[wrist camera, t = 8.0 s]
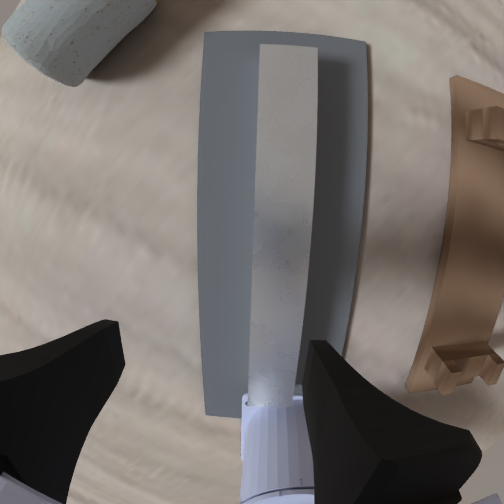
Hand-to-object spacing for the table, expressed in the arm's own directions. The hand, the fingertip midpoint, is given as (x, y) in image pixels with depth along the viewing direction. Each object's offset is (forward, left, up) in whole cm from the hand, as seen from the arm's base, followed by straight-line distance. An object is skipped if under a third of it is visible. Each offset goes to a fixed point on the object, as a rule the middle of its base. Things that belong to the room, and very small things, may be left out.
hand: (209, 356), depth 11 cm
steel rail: (+2, -3, -9) cm, 10 cm away
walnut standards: (+2, -18, -9) cm, 20 cm away
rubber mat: (+1, -3, -9) cm, 10 cm away
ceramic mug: (+18, +11, -10) cm, 23 cm away
